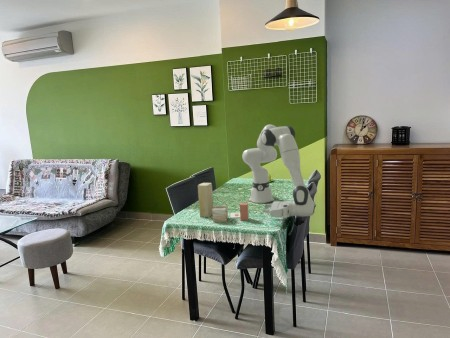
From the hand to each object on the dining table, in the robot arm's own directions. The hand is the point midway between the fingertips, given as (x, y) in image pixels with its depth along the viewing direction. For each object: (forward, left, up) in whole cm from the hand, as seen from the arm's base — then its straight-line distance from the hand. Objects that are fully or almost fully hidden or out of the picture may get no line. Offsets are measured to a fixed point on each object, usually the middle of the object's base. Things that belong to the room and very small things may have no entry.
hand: (263, 208), depth 205 cm
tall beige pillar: (-9, -38, -8) cm, 40 cm away
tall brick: (-1, -12, -7) cm, 14 cm away
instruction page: (-9, -18, -7) cm, 22 cm away
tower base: (0, -27, -7) cm, 28 cm away
